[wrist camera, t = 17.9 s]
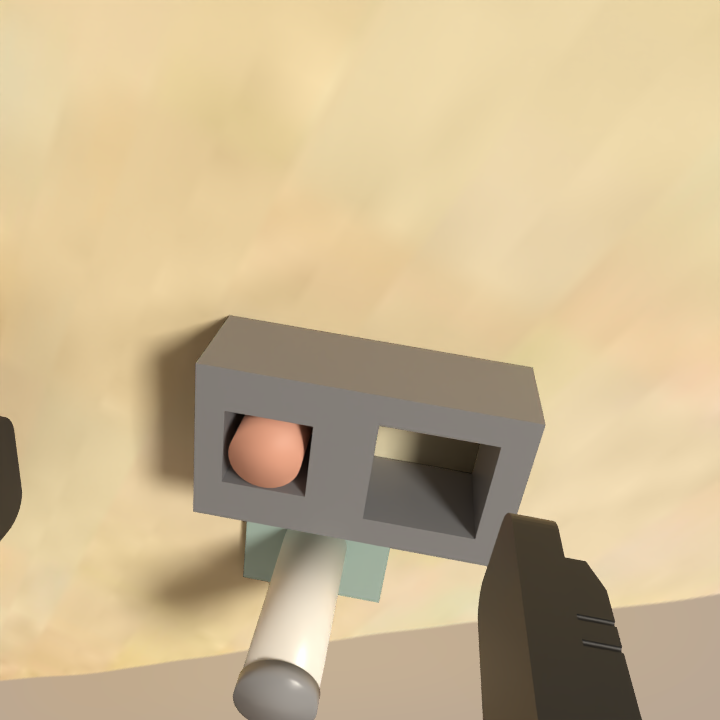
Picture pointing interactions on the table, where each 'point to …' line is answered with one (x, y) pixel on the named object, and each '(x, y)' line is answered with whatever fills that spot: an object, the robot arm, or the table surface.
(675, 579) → the table surface
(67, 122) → the table surface
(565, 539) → the table surface
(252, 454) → the orange egg
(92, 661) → the table surface
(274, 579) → the cartridge
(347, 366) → the housing
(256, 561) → the mat
